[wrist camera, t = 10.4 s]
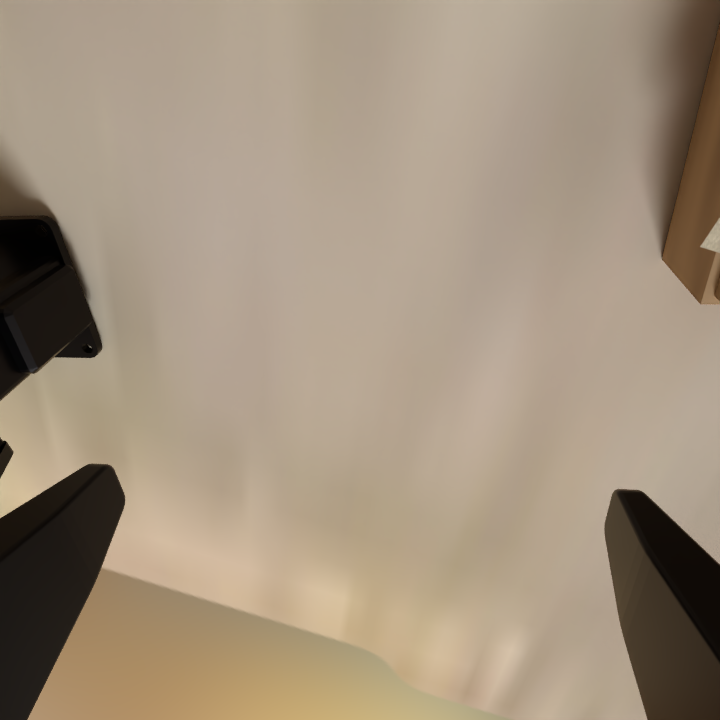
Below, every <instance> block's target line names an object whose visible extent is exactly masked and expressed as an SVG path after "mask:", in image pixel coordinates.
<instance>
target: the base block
mask: <svg viewBox="0 0 720 720" xmlns="http://www.w3.org/2000/svg"><path fill="white" fill-rule="evenodd" d="M719 218H720V24H719V28H718V32H717V36H716V40H715V44H714V48H713V52H712V56H711V60H710V65H709V69H708V73H707V77H706V81H705V85H704V89H703V93H702V97H701V101H700V105H699V109H698V114H697V118H696V122H695V126H694V130H693V134H692V138H691V142H690V146H689V150H688V154H687V159H686V163H685V167H684V171H683V175H682V179H681V183H680V187H679V191H678V195H677V199H676V203H675V208H674V212H673V216H672V220H671V224H670V228H669V232H668V236H667V240H666V244H665V248H664V252H663V257H662V260H663V261H664V262H665V263H666V265H667V266H668V267H669V268H670V269H671V270H672V272H673V273H674V274H675V275H676V276H677V277H678V279H679V280H680V281H681V282H682V283H683V284H684V286H685V287H686V288H687V289H688V290H689V291H690V293H691V294H692V295H693V296H694V297H695V298H696V300H697V301H698V302H699V303H700V304H720V253H718V252H715V251H712V250H708V249H705V248H702V247H700V246H701V245H702V243H703V242H704V240H705V239H706V237H707V236H708V234H709V233H710V231H711V230H712V228H713V227H714V225H715V224H716V222H717V221H718V219H719Z"/></svg>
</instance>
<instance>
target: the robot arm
mask: <svg viewBox="0 0 720 720" xmlns="http://www.w3.org/2000/svg"><path fill="white" fill-rule="evenodd" d="M41 225H42V226H43V227H44V228H45V229H46V230H47V233H45V232H44V231H43V230H42V228H41ZM87 344H88V345H90V346H91V347H92V348H90V347H89V346H88V345H87ZM101 350H102V343H101V340H100V338H99V335H98V332H97V330H96V327H95V324H94V322H93V319H92V316H91V314H90V311H89V308H88V306H87V303H86V300H85V298H84V295H83V292H82V289H81V287H80V284H79V281H78V279H77V276H76V273H75V271H74V268H73V265H72V263H71V260H70V257H69V255H68V252H67V249H66V247H65V244H64V241H63V239H62V236H61V233H60V231H59V228H58V226H57V224H56V223H55V222H54V221H53V220H52V219H51V218H49V217H47V216H8V217H0V401H1V400H2V399H3V398H4V397H5V396H6V395H8V394H9V393H10V392H11V391H12V390H13V389H14V388H16V387H17V386H18V385H19V384H20V383H21V382H22V381H23V380H25V379H26V378H27V377H28V376H29V375H30V374H31V373H33V374H34V373H36V372H38V371H39V370H40V369H41V368H42V367H44V366H45V365H46V364H47V363H48V362H49V361H50V360H51V359H52V358H54V357H71V358H92V357H95V356H96V355H98V354H99V353H100V352H101ZM12 455H13V450H12V449H11V448H10V446H9V445H8V443H7V442H6V441H2V439H1V438H0V478H1V476H2V474H3V472H4V470H5V468H6V466H7V464H8V463H9V461H10V459H11V457H12ZM124 505H125V495H124V492H123V489H122V487H121V485H120V482H119V480H118V477H117V475H116V473H115V470H114V468H113V467H112V466H110V465H108V464H88V465H86V466H84V467H82V468H81V469H79V470H78V471H76V472H74V473H73V474H71V475H70V476H68V477H66V478H65V479H63V480H61V481H60V482H58V483H57V484H55V485H53V486H52V487H50V488H49V489H47V490H45V491H44V492H42V493H41V494H39V495H37V496H36V497H34V498H32V499H31V500H29V501H28V502H26V503H24V504H23V505H21V506H20V507H18V508H16V509H15V510H13V511H12V512H10V513H8V514H7V515H5V516H3V517H2V518H0V720H27V719H28V717H29V715H30V713H31V711H32V709H33V707H34V705H35V703H36V701H37V699H38V697H39V695H40V693H41V691H42V689H43V687H44V685H45V683H46V681H47V679H48V677H49V675H50V673H51V671H52V669H53V667H54V665H55V662H56V661H57V659H58V656H59V655H60V653H61V651H62V649H63V647H64V645H65V643H66V641H67V639H68V637H69V635H70V633H71V631H72V629H73V627H74V625H75V623H76V621H77V618H78V617H79V615H80V613H81V611H82V609H83V607H84V604H85V602H86V600H87V598H88V596H89V594H90V592H91V590H92V588H93V586H94V584H95V582H96V579H97V577H98V574H99V572H100V570H101V567H102V564H103V562H104V559H105V556H106V554H107V551H108V548H109V546H110V543H111V541H112V538H113V535H114V533H115V530H116V527H117V525H118V522H119V519H120V517H121V514H122V512H123V509H124ZM605 540H606V545H607V551H608V557H609V563H610V569H611V575H612V580H613V586H614V592H615V598H616V604H617V610H618V615H619V620H620V625H621V629H622V633H623V637H624V641H625V644H626V647H627V651H628V654H629V658H630V661H631V665H632V668H633V671H634V675H635V678H636V682H637V685H638V689H639V692H640V695H641V699H642V702H643V706H644V709H645V712H646V716H647V719H648V720H720V564H719V563H718V562H717V561H716V560H714V559H713V558H712V557H711V556H710V555H709V554H708V553H707V552H706V551H705V550H704V549H703V548H702V547H701V546H700V545H699V544H698V543H697V542H696V541H694V540H693V539H692V538H691V537H690V536H689V535H688V534H687V533H686V532H685V531H684V530H683V529H682V528H681V527H680V526H679V525H678V524H677V523H676V522H675V521H673V520H672V519H671V518H670V517H669V516H668V515H667V514H666V513H665V512H664V511H663V510H662V509H661V508H660V507H659V506H658V505H657V504H656V503H655V502H653V501H652V500H651V499H650V498H649V497H648V496H647V495H646V494H645V493H644V492H642V491H640V490H627V489H617V490H615V491H614V492H613V494H612V497H611V501H610V505H609V509H608V513H607V517H606V520H605Z"/></svg>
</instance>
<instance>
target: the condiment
mask: <svg viewBox="0 0 720 720" xmlns="http://www.w3.org/2000/svg"><path fill="white" fill-rule="evenodd" d="M700 247H702V248H705V249H708V250H712V251H715V252H718V253H720V218H719V219H718V221H717V222H716V224H715V225H714V227H713V228H712V230H711V231H710V233H709V234H708V236H707V237H706V239H705V240H704V242H703V243H702V245H701V246H700Z"/></svg>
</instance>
